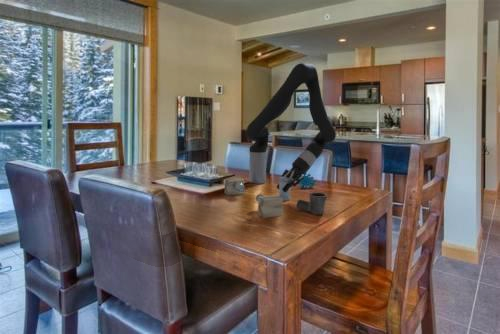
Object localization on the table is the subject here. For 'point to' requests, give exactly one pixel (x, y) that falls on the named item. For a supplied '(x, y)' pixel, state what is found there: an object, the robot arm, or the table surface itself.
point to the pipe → (313, 203)
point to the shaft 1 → (238, 187)
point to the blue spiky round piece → (307, 181)
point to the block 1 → (229, 186)
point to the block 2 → (270, 206)
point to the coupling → (282, 183)
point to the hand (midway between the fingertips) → (280, 189)
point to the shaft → (259, 196)
